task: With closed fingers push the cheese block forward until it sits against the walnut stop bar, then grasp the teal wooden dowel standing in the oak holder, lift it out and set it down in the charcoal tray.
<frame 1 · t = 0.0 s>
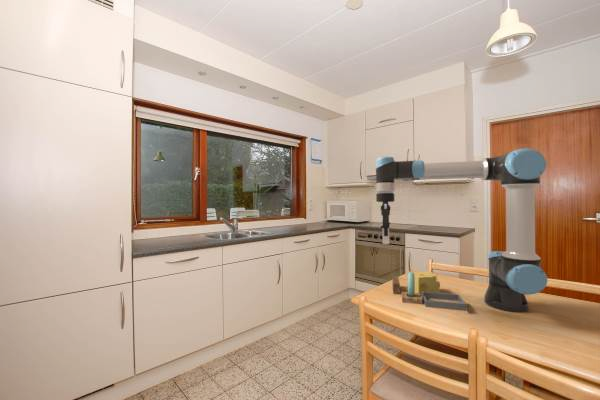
hand: (385, 241, 119), 28 cm above the table, fingers open, 13 cm apart
tray: (442, 305, 117), on the table
dowel: (411, 299, 122), point 1 cm above the table, touching holder
holder: (411, 302, 122), on the table
stop bar: (396, 291, 135), on the table
cheese: (424, 295, 131), on the table
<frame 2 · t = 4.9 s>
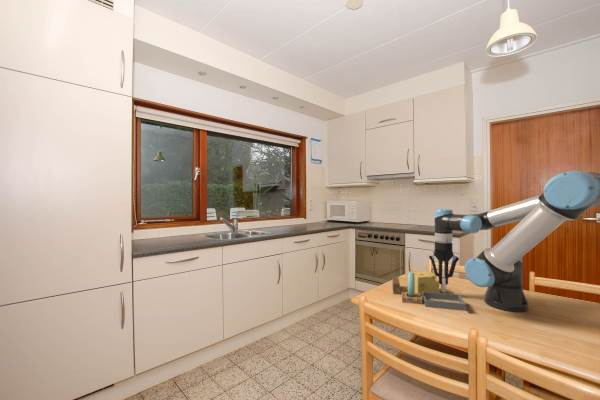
hand: (443, 290, 129), 2 cm above the table, fingers closed
cheese: (423, 294, 131), on the table, touching gripper, hand
everything else where it was.
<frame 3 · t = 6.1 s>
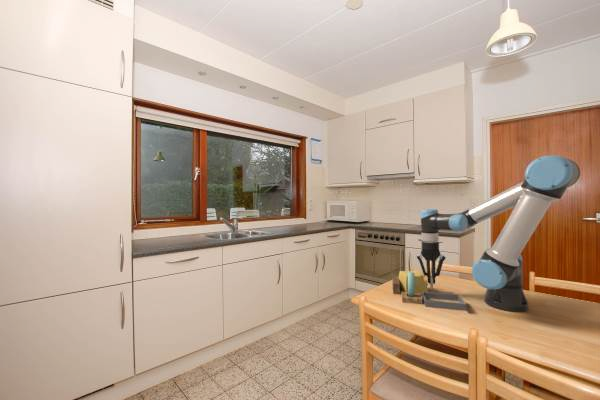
hand: (431, 290, 131), 2 cm above the table, fingers closed
cheese: (412, 293, 133), on the table, touching gripper, hand, stop bar
everything else where it was.
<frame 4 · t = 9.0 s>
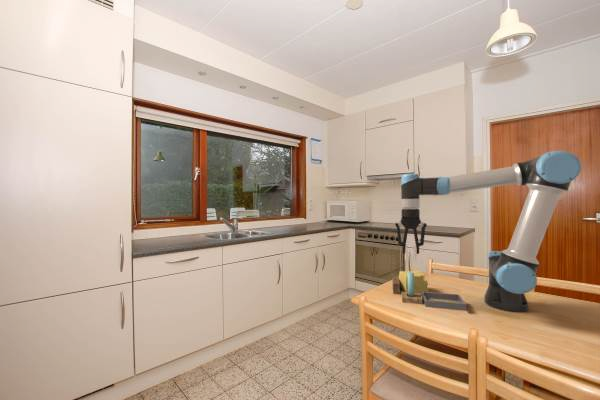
hand: (410, 260, 122), 19 cm above the table, fingers open, 3 cm apart
cheese: (412, 294, 133), on the table
everything else where it was.
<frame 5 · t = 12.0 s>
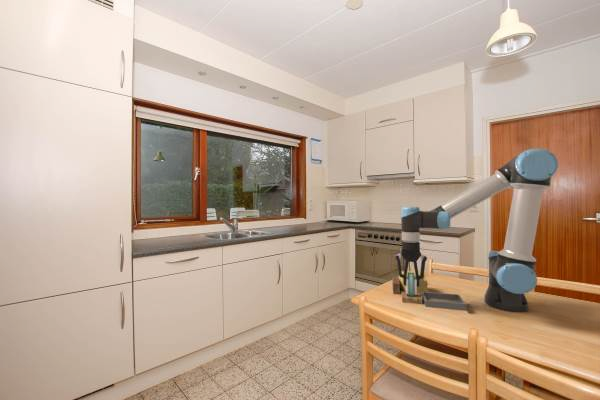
hand: (411, 293, 122), 4 cm above the table, fingers closed on dowel, 3 cm apart
dowel: (411, 299, 122), point 1 cm above the table, touching gripper
everything else where it was.
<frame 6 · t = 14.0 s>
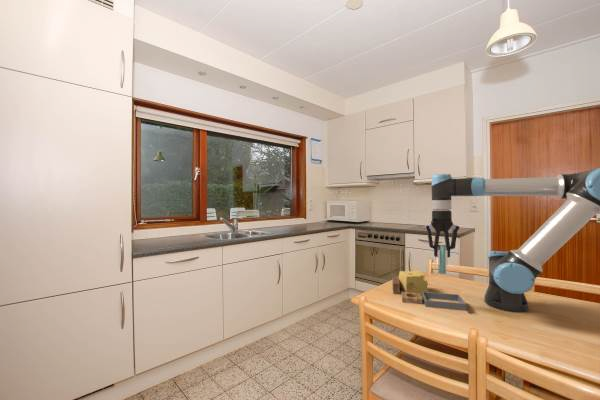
hand: (442, 264, 117), 18 cm above the table, fingers closed on dowel, 2 cm apart
dowel: (442, 273, 117), point 14 cm above the table, touching gripper
everything else where it was.
when the fingers open (5 cm above the table, at t = 16.5 s): dowel stays where it is, resting on tray.
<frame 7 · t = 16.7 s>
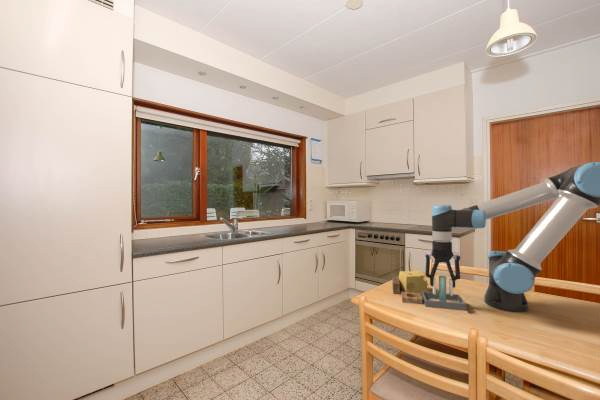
hand: (442, 294, 117), 5 cm above the table, fingers open, 6 cm apart
dowel: (442, 304, 117), point 1 cm above the table, touching tray
everything else where it was.
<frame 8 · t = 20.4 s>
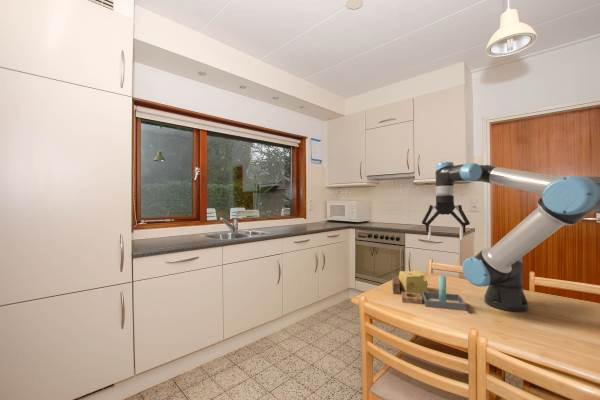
hand: (445, 239, 129), 27 cm above the table, fingers open, 13 cm apart
nothing on the table moved.
at the end: cheese inside the target area (1.3 cm from its centre), on the table; dowel inside the target area on the tray (0.1 cm from its centre), point 0.6 cm above the tray's base; the gripper is holding nothing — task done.
